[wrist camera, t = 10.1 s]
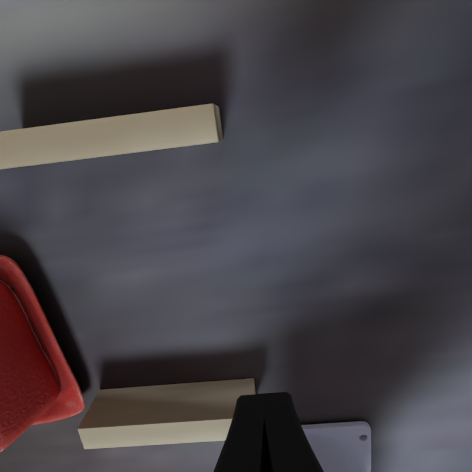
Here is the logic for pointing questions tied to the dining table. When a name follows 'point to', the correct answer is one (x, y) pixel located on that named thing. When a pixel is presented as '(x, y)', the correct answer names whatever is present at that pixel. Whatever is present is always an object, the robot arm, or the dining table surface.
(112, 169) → the dining table surface
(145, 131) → the bar
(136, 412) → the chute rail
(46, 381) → the butter dish
